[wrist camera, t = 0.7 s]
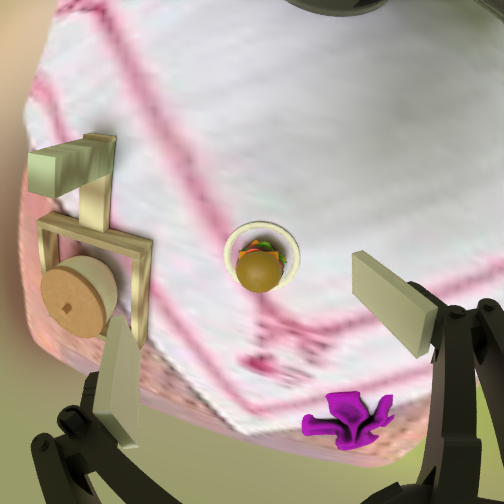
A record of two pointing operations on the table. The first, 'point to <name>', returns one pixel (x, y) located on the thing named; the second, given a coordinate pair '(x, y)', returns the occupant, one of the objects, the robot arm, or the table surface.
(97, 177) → the pull frame
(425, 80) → the table surface
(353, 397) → the cloth
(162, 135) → the table surface
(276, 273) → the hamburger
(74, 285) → the lidded jar
